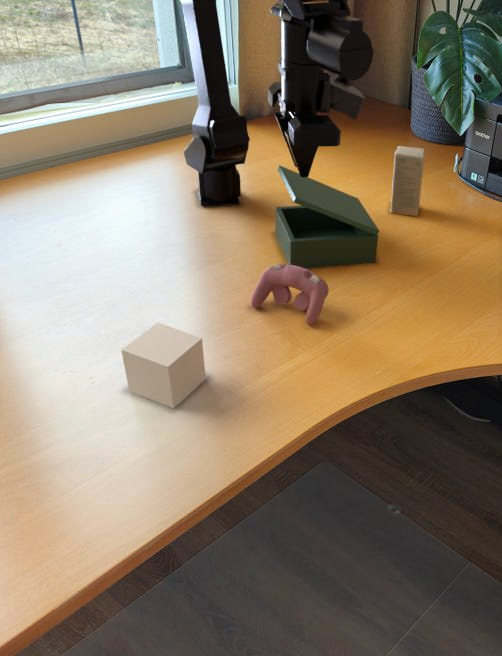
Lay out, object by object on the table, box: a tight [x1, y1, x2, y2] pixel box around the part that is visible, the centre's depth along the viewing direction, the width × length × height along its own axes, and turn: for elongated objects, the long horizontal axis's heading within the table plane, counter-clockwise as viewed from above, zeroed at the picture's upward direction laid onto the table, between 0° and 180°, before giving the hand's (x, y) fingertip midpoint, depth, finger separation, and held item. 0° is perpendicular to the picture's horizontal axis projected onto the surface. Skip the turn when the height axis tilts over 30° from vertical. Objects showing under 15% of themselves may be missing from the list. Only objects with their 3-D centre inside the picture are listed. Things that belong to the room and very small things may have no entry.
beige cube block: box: [120, 322, 207, 409], centre depth 75 cm, size 6×6×6 cm
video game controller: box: [250, 263, 330, 326], centre depth 90 cm, size 10×5×7 cm, turn 71°
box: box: [389, 145, 426, 217], centre depth 118 cm, size 5×4×11 cm
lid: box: [277, 165, 381, 236], centre depth 101 cm, size 14×12×1 cm
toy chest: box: [274, 205, 379, 270], centre depth 105 cm, size 14×12×5 cm
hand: (301, 171), depth 97 cm, fingers open, 3 cm apart
